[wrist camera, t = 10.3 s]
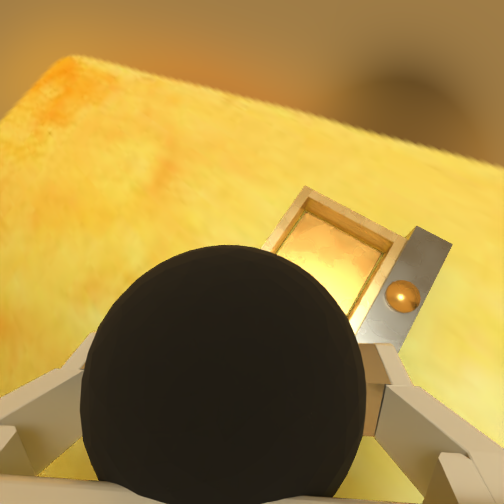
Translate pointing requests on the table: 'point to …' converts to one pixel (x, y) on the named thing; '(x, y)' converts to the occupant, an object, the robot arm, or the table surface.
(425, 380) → the table surface
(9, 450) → the robot arm
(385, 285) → the rail
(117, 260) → the table surface
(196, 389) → the light bulb
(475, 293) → the table surface
